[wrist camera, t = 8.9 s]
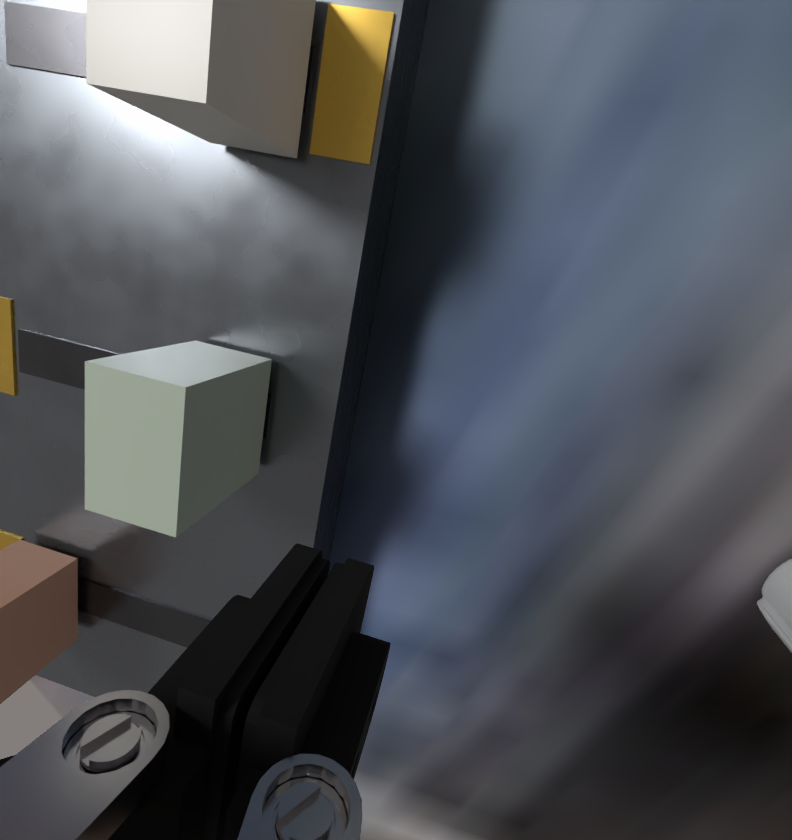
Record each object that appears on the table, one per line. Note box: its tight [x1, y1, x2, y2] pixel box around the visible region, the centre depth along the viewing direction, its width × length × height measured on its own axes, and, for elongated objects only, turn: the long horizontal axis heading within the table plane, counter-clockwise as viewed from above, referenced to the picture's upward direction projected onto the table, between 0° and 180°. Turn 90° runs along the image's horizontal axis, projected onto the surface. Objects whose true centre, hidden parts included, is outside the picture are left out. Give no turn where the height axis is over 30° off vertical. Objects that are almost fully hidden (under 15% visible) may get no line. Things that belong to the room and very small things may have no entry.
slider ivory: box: [86, 0, 316, 158], centre depth 13 cm, size 3×4×5 cm, turn 168°
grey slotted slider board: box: [0, 0, 429, 697], centre depth 21 cm, size 16×34×3 cm, turn 168°
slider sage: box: [85, 341, 272, 537], centre depth 16 cm, size 3×4×5 cm, turn 168°
